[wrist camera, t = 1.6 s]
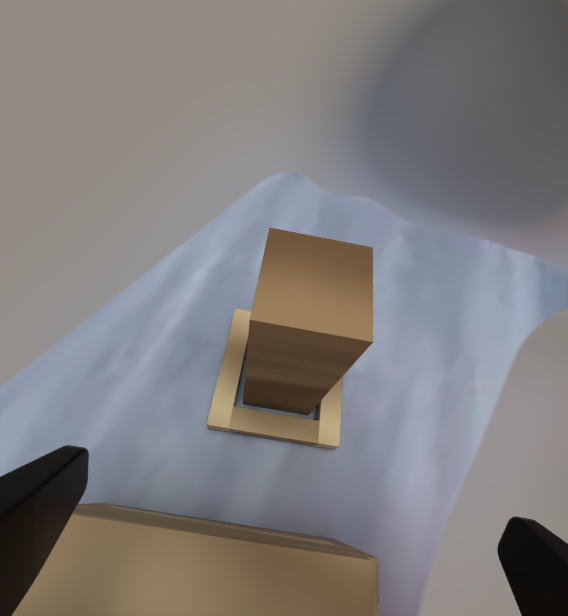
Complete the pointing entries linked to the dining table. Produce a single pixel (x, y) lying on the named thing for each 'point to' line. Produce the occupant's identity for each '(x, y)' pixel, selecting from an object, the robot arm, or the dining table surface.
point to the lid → (191, 575)
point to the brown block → (307, 319)
